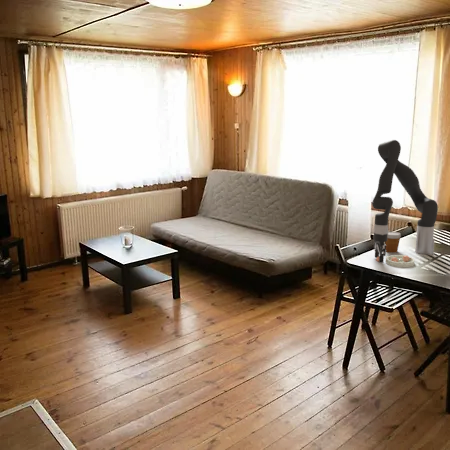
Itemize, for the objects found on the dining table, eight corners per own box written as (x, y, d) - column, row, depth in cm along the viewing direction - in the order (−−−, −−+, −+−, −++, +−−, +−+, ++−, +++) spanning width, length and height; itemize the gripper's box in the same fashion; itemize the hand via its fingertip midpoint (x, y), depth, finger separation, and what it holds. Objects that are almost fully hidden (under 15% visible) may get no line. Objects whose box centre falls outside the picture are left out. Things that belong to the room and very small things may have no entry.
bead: (389, 262, 261) (390, 256, 260) (394, 262, 262) (395, 256, 261) (393, 265, 258) (394, 258, 257) (398, 264, 259) (399, 258, 258)
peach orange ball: (381, 261, 267) (382, 255, 266) (383, 263, 264) (384, 257, 263) (375, 261, 267) (375, 255, 266) (377, 263, 264) (377, 257, 263)
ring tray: (408, 260, 268) (408, 254, 268) (418, 268, 254) (418, 262, 253) (382, 260, 269) (382, 255, 268) (390, 268, 254) (391, 263, 254)
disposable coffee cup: (381, 253, 282) (383, 234, 279) (384, 249, 290) (385, 230, 287) (398, 255, 277) (399, 236, 275) (400, 251, 286) (402, 232, 283)
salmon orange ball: (407, 260, 264) (408, 254, 263) (410, 262, 261) (410, 256, 260) (401, 260, 264) (401, 254, 263) (403, 262, 261) (404, 256, 260)
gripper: (370, 229, 269) (368, 256, 272) (377, 235, 255) (375, 263, 259) (383, 229, 269) (381, 256, 272) (391, 235, 255) (389, 263, 258)
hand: (378, 259), depth 265 cm, fingers open, 8 cm apart
